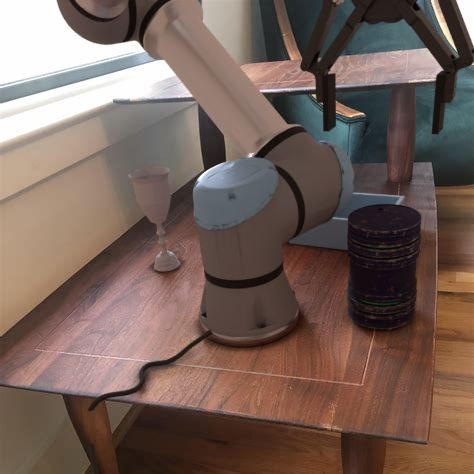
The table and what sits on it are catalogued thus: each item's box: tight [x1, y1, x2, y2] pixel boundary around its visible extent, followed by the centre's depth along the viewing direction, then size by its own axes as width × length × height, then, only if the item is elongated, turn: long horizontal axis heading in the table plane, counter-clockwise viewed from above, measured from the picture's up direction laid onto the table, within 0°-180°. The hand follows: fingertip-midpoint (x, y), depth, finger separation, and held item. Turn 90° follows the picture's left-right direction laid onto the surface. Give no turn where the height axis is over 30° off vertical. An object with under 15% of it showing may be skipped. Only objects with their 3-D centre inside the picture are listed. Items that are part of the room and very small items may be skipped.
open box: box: [288, 191, 406, 251], centre depth 106 cm, size 14×19×6 cm
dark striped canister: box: [346, 204, 423, 330], centre depth 77 cm, size 10×10×15 cm
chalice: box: [128, 165, 181, 272], centre depth 99 cm, size 7×7×18 cm
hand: (381, 130), depth 69 cm, fingers open, 13 cm apart
